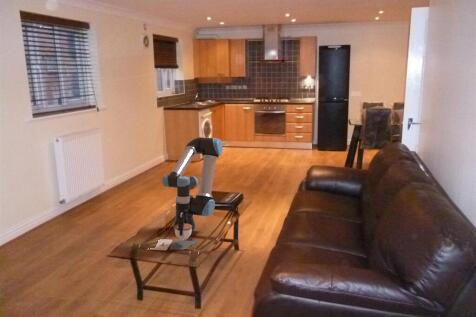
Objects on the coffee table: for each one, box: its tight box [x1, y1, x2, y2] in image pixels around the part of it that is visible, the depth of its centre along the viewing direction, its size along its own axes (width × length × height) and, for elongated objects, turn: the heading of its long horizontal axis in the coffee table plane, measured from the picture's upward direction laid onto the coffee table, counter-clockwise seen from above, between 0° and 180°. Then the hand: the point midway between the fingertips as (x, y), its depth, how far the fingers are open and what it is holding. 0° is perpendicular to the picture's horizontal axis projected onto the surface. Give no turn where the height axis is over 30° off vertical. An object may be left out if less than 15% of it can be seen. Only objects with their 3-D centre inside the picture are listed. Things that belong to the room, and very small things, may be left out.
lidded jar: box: [173, 223, 193, 241], centre depth 254 cm, size 11×11×9 cm
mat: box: [169, 239, 197, 251], centre depth 255 cm, size 14×14×1 cm
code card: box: [147, 238, 173, 251], centre depth 256 cm, size 17×14×1 cm
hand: (183, 236), depth 254 cm, fingers closed on lidded jar, 11 cm apart
